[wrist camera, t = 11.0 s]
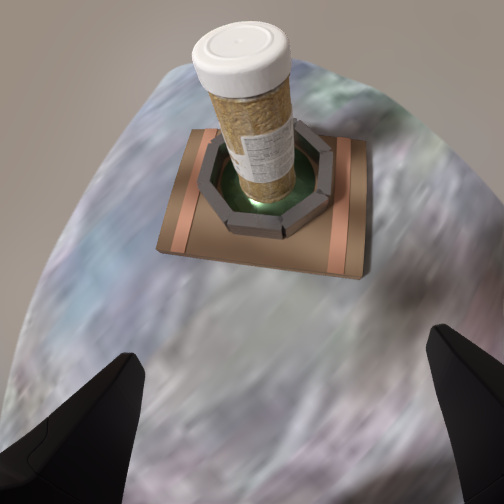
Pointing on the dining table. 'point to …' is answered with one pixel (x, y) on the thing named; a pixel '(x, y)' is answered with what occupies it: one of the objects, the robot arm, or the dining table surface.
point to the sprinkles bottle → (252, 103)
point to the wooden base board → (289, 249)
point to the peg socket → (278, 213)
